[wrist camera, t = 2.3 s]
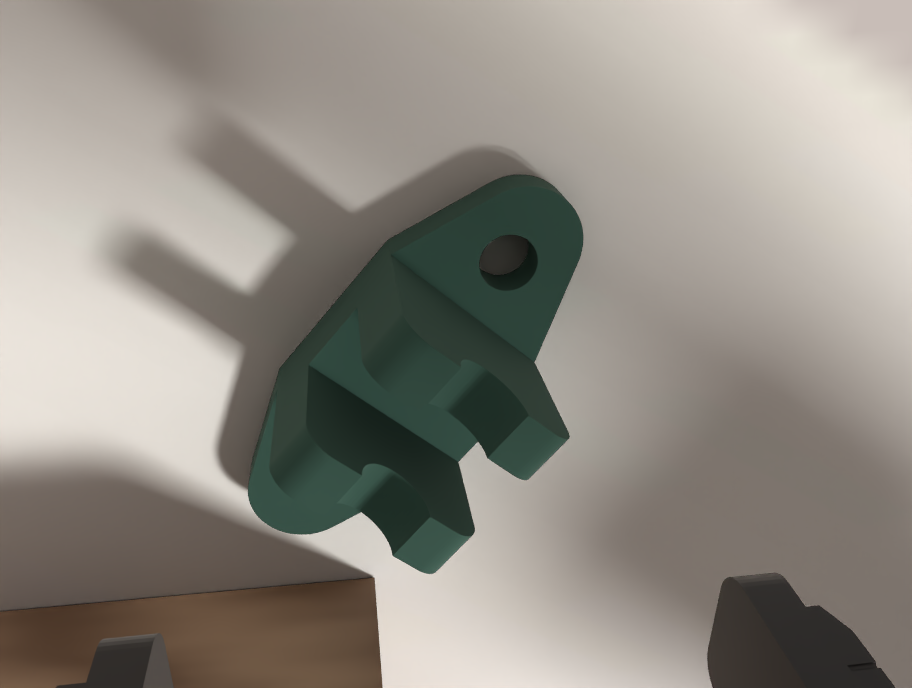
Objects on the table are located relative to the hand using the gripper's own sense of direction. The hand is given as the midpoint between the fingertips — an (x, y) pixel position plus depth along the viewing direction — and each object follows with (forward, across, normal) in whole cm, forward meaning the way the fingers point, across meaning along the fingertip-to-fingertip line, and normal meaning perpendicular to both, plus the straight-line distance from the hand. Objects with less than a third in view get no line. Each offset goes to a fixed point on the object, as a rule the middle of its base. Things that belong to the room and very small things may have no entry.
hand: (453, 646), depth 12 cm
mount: (+10, 0, 0) cm, 10 cm away
